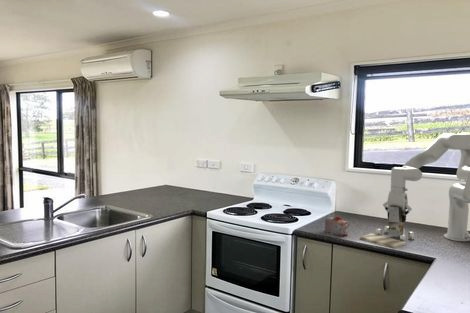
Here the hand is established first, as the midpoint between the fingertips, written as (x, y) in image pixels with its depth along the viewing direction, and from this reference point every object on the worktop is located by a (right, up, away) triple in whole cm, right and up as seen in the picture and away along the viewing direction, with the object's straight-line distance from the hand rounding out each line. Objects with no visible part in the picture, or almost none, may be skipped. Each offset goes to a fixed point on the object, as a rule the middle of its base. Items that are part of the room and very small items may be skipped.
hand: (396, 220), depth 218 cm
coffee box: (0, -8, +1) cm, 8 cm away
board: (-11, -10, -8) cm, 17 cm away
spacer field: (+1, -10, +2) cm, 10 cm away
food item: (-32, -9, +6) cm, 34 cm away
